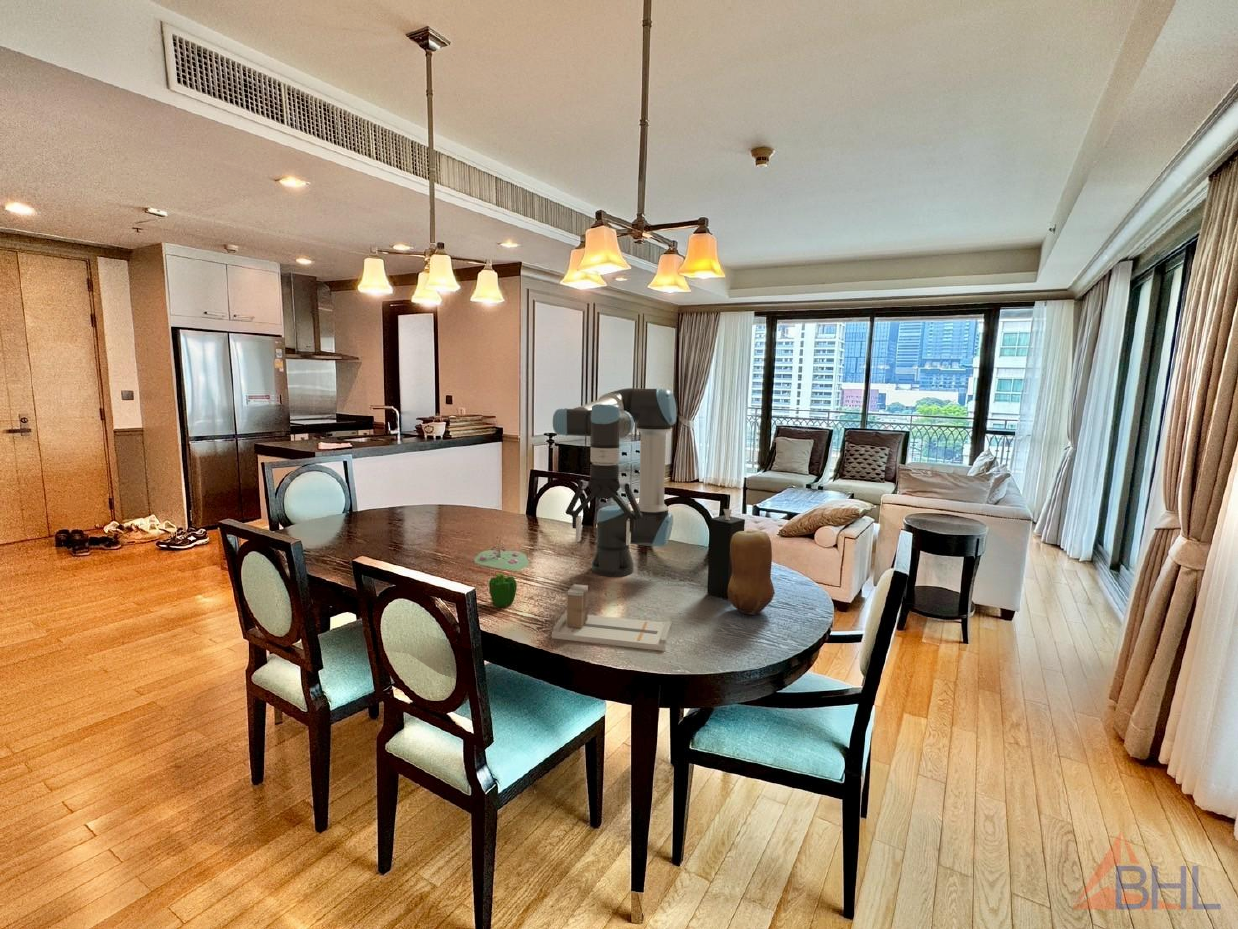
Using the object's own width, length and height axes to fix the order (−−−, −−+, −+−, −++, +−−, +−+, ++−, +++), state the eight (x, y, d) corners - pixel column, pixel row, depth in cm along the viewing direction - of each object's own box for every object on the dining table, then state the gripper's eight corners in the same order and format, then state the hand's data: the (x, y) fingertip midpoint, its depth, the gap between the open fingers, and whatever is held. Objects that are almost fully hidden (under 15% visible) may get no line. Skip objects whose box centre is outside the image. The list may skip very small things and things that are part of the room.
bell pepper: (504, 596, 185) (504, 565, 184) (522, 603, 180) (521, 571, 178) (482, 604, 179) (482, 572, 177) (500, 611, 173) (499, 578, 172)
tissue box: (721, 588, 196) (725, 505, 192) (741, 594, 191) (745, 509, 187) (706, 593, 191) (710, 508, 187) (727, 600, 185) (731, 512, 181)
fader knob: (573, 618, 165) (573, 584, 164) (587, 619, 164) (587, 585, 163) (567, 626, 159) (567, 591, 158) (581, 628, 158) (581, 593, 157)
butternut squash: (732, 601, 185) (735, 523, 181) (776, 608, 180) (780, 528, 176) (721, 617, 172) (725, 533, 168) (769, 625, 167) (774, 539, 163)
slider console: (567, 617, 170) (567, 609, 169) (671, 628, 164) (672, 620, 163) (551, 638, 156) (551, 629, 156) (664, 651, 150) (665, 641, 150)
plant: (548, 563, 220) (548, 540, 219) (502, 576, 205) (502, 551, 204) (507, 549, 237) (507, 527, 236) (462, 560, 222) (461, 537, 221)
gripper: (554, 462, 154) (554, 542, 157) (650, 467, 150) (647, 549, 152) (562, 459, 161) (561, 535, 164) (653, 463, 157) (651, 541, 160)
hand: (603, 542), depth 158 cm, fingers open, 13 cm apart
